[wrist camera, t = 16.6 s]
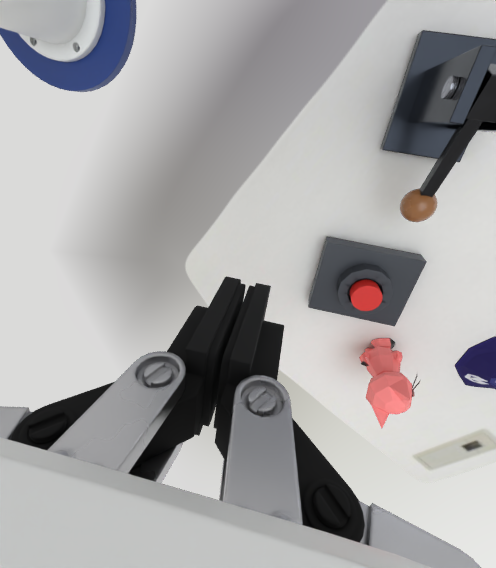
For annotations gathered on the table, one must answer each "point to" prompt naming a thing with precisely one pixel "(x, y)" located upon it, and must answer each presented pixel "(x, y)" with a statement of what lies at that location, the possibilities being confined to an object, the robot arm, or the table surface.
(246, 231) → the table surface
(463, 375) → the computer mouse
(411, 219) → the switch lever
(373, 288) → the button
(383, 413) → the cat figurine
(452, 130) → the switch bracket
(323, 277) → the grey base plate
